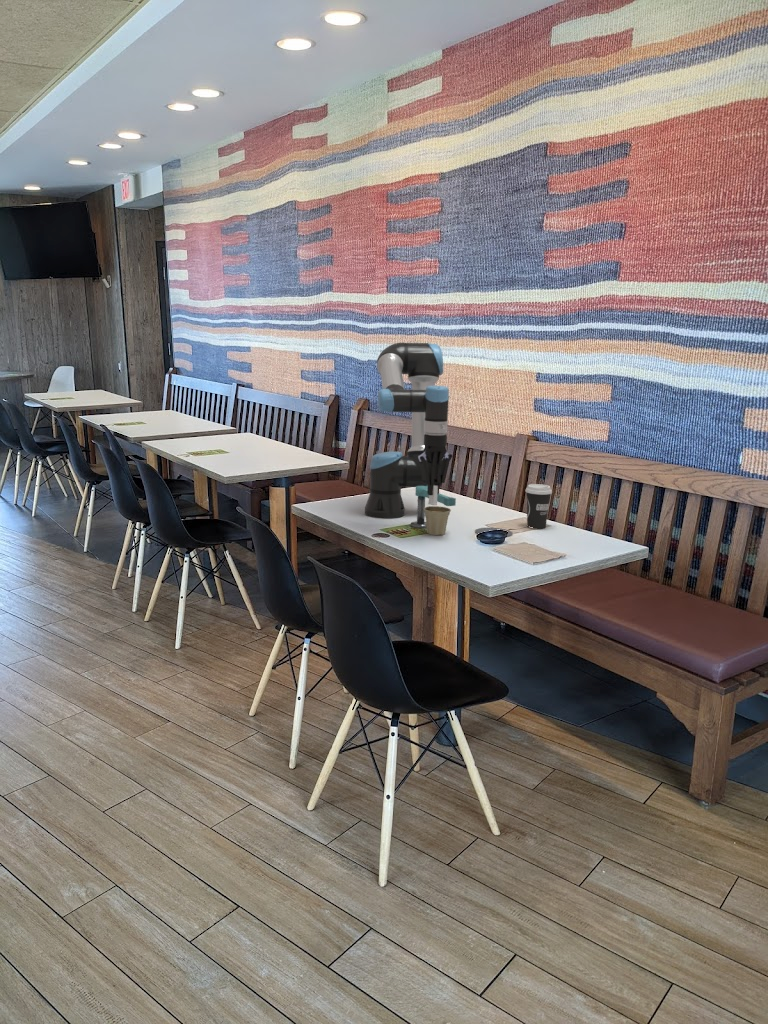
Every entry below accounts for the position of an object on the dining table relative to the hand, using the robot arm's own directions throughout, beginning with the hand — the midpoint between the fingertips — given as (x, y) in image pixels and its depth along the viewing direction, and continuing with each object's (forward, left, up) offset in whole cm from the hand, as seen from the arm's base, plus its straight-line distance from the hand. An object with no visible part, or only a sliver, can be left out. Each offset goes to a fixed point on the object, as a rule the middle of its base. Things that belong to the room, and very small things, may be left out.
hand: (432, 504), depth 275 cm
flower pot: (-6, +6, -12) cm, 15 cm away
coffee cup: (-1, +45, -12) cm, 46 cm away
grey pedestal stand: (-17, +6, -12) cm, 22 cm away
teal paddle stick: (-8, +6, -1) cm, 10 cm away
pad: (+1, +25, -12) cm, 27 cm away
